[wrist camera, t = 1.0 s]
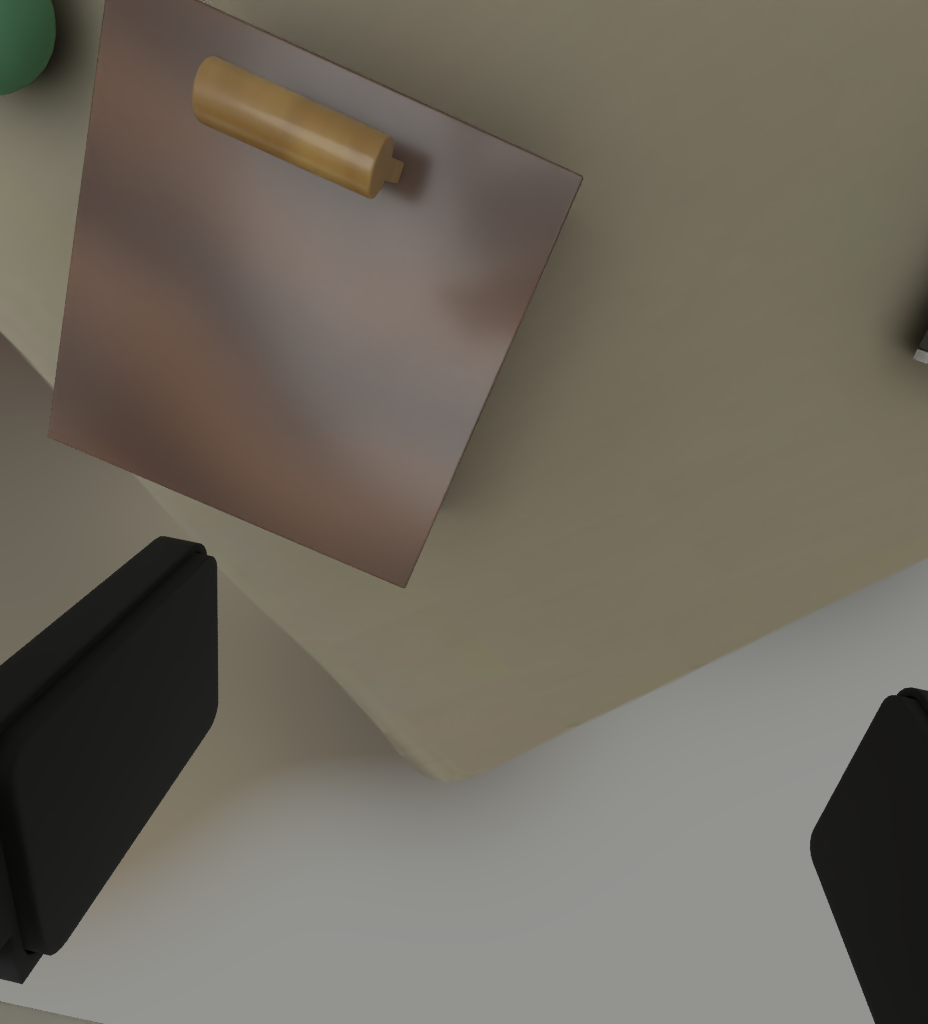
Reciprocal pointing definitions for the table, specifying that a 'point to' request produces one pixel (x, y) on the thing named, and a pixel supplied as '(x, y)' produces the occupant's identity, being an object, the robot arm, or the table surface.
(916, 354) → the flashlight
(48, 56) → the alien toy
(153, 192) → the lid
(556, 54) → the table surface
